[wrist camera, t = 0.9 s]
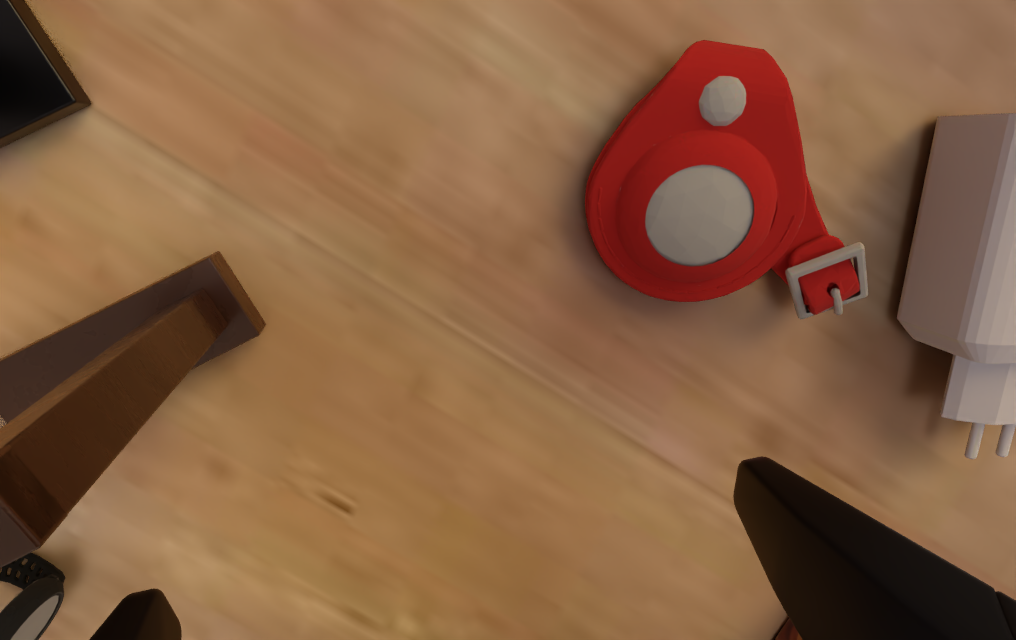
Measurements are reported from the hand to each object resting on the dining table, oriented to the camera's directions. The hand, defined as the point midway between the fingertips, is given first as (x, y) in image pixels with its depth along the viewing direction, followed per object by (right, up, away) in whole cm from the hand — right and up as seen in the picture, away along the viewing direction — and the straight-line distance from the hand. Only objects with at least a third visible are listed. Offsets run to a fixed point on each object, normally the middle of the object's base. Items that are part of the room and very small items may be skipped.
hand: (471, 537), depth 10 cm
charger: (+23, +5, +20) cm, 31 cm away
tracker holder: (+9, +8, +17) cm, 20 cm away
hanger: (-13, +3, +14) cm, 19 cm away
